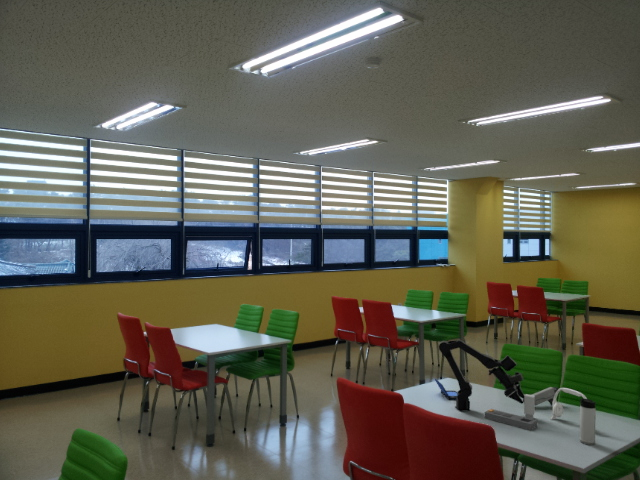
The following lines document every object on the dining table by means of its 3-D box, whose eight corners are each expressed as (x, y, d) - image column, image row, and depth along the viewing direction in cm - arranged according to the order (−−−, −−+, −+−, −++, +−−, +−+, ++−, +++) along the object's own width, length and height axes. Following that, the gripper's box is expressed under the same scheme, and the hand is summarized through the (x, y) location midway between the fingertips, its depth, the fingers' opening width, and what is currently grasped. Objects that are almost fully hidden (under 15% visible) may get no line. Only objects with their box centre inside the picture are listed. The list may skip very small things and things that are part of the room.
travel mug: (576, 440, 231) (576, 397, 231) (589, 439, 231) (590, 397, 232) (584, 445, 224) (584, 401, 225) (598, 445, 225) (598, 401, 225)
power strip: (484, 417, 259) (484, 410, 259) (491, 414, 265) (491, 407, 265) (530, 430, 242) (530, 423, 242) (536, 426, 248) (536, 419, 248)
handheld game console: (463, 400, 289) (464, 384, 289) (441, 400, 289) (441, 384, 289) (455, 392, 305) (455, 377, 305) (433, 392, 304) (434, 377, 304)
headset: (594, 429, 244) (594, 393, 245) (585, 432, 241) (585, 395, 241) (557, 417, 262) (558, 383, 262) (549, 419, 258) (549, 385, 259)
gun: (561, 402, 284) (559, 385, 283) (528, 416, 275) (525, 399, 275) (558, 401, 286) (555, 384, 286) (524, 415, 278) (521, 398, 277)
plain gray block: (524, 418, 259) (524, 396, 259) (525, 416, 263) (525, 394, 263) (533, 420, 256) (533, 397, 257) (534, 417, 260) (534, 395, 261)
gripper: (511, 371, 256) (533, 396, 250) (516, 364, 272) (537, 387, 266) (495, 384, 259) (517, 409, 254) (501, 376, 276) (521, 399, 270)
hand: (523, 400), depth 261 cm, fingers open, 9 cm apart
